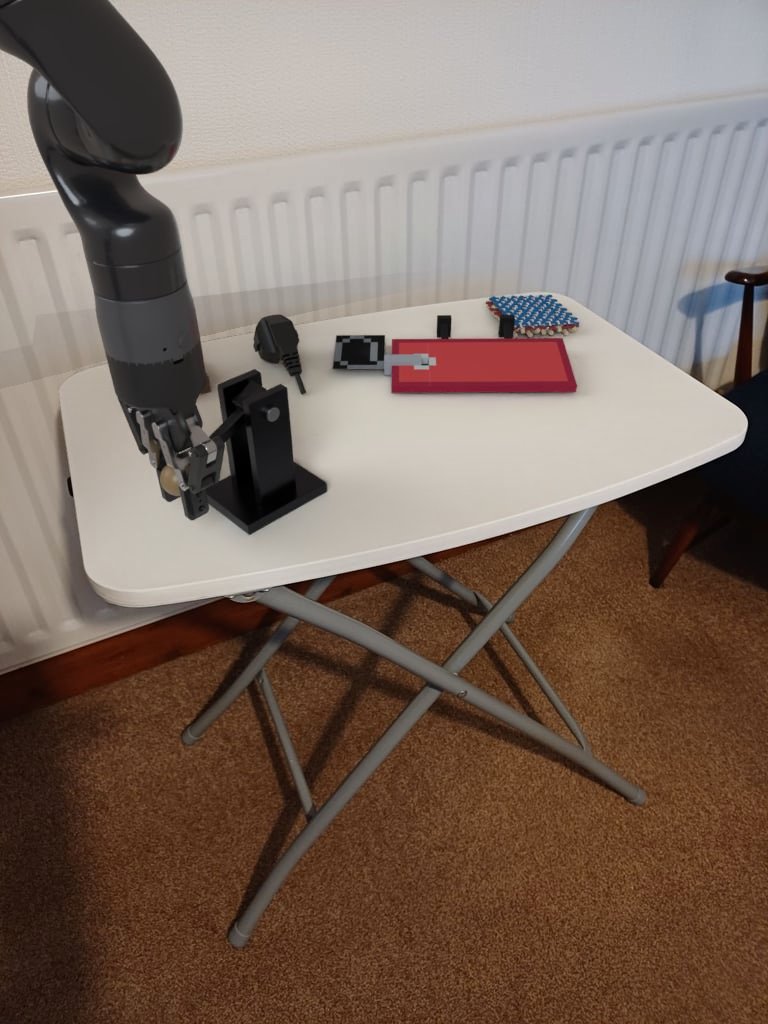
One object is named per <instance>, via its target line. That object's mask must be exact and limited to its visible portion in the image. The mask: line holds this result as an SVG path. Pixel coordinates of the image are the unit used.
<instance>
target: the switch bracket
mask: <svg viewBox="0 0 768 1024" xmlns="http://www.w3.org/2000/svg"><path fill="white" fill-rule="evenodd" d="M251 381H254V382H255V383H257V384H259V385H261V386H262V387H263V380H262V373H261V371H260V370H258V369H256V368H254V369H252V370H248V371H247V372H244V373H242V374H238V375H236V376H234V377H232V378H230V379H227V380H225V381H222V382H220V383H217V384H216V388H217V395H218V401H219V408H220V414H221V420H222V423H223V422H224V421H225V420H226V419H227V418H228V417H229V416H230V415H231V414H232V413H233V412H234V411H235V410H236V409H237V408H236V407H235V405H234V404H233V402H232V399H233V398H234V397H235V396H236V395H237V394H238V393H240V392H241V391H242V390H243V389H244V388H245V387H246V386H247V385H248V384H249V383H250V382H251ZM288 392H289V391H288V387H287V386H286V385H284V384H282V383H279V384H277V385H274V386H273V387H270V388H267V389H266V391H263V392H261V393H259V394H256V395H254V396H252V397H250V398H247V399H245V400H243V407H244V415H245V423H244V424H243V425H242V426H241V427H240V428H239V429H238V430H237V431H236V432H235V433H234V434H233V435H232V436H231V437H230V438H229V439H228V440H227V441H226V442H225V448H226V453H227V459H228V467H229V472H230V475H228V476H226V477H223V478H222V479H219V482H218V483H216V484H214V485H211V486H209V487H207V488H206V494H207V499H208V505H210V506H211V507H212V508H213V509H215V510H216V511H217V512H219V513H220V514H221V515H222V516H224V517H225V518H226V519H227V520H228V521H230V522H232V523H233V524H234V525H236V526H237V527H238V528H239V529H241V531H244V533H245V534H247V535H248V536H250V535H253V534H254V533H256V532H257V531H259V530H262V529H263V528H264V527H266V526H268V525H270V524H272V523H274V522H276V521H277V520H279V519H281V518H282V517H284V516H286V515H288V514H290V513H292V512H293V511H295V510H297V509H299V508H301V507H302V506H304V505H306V504H307V503H309V502H311V501H313V500H315V499H316V498H318V497H320V496H322V495H323V494H326V493H327V492H328V483H327V481H325V480H323V479H322V478H321V477H319V476H317V475H316V474H314V473H313V472H311V471H310V470H308V469H306V468H304V467H303V466H302V465H301V464H299V463H297V462H296V461H295V460H294V448H293V439H292V438H293V437H292V426H291V413H290V405H289V403H290V402H289V393H288Z"/></svg>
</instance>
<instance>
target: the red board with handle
mask: <svg viewBox="0 0 768 1024" xmlns="http://www.w3.org/2000/svg"><path fill="white" fill-rule="evenodd" d="M452 321H453V320H452V315H451V314H442V315H441V314H438V315H436V338H392V339H391V354H385V353H386V350H385V349H386V335H385V334H346V335H345V334H344V335H343V334H342V335H341V334H339V335H338V334H336V335H335V342H334V345H335V346H334V353H333V361H332V370H383V371H384V374H383V375H384V376H391V388H390V389H391V394H392V393H393V394H394V393H395V394H397V393H399V394H400V393H401V394H403V393H405V394H406V393H414V394H415V393H417V394H419V393H420V394H421V393H576V392H577V387H578V384H577V380H576V378H575V375H574V371H573V368H572V364H571V361H570V358H569V354H568V351H567V349H566V345H565V342H564V338H563V337H527V338H526V337H524V338H523V337H522V338H521V337H520V338H519V337H516V338H514V337H513V331H515V330H514V322H515V317H514V315H500V321H498V333H497V334H498V338H493V337H492V338H451V337H452Z"/></svg>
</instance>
